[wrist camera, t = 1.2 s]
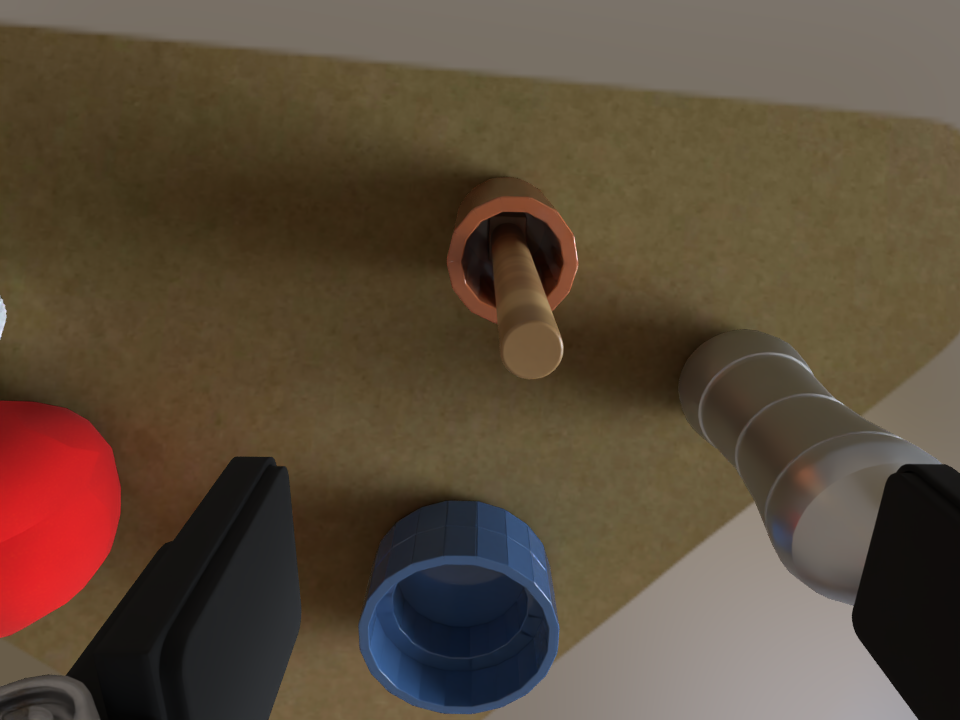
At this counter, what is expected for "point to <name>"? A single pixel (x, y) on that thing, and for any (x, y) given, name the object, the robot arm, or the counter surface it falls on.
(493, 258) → the stirring stick
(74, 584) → the tomato
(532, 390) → the counter surface
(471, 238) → the crock
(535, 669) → the bowl
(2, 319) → the muffin
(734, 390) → the silver metal bottle
